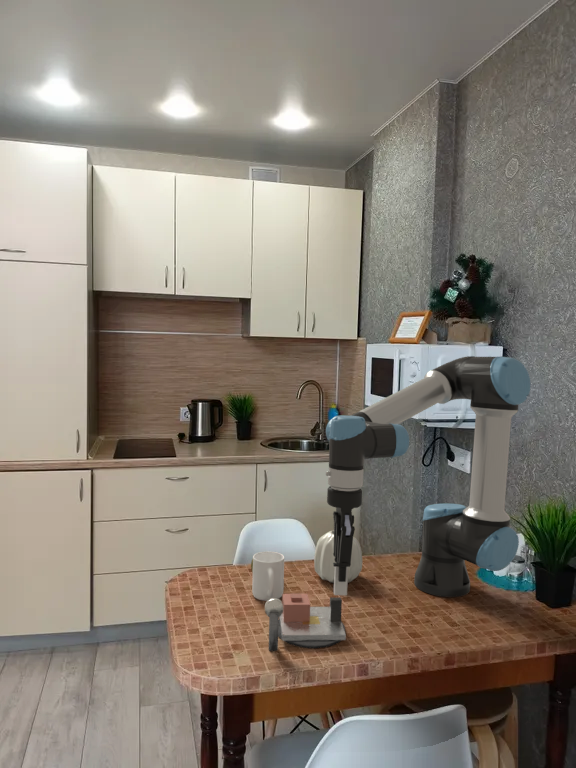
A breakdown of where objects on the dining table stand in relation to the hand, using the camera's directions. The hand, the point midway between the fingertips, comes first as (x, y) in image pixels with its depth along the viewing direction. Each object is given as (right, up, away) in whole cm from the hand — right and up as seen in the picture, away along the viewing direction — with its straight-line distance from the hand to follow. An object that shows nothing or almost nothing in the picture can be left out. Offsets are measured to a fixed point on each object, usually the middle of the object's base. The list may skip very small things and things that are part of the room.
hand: (340, 593), depth 124 cm
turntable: (-6, -10, +7) cm, 14 cm away
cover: (-10, -9, +9) cm, 16 cm away
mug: (-17, -10, +25) cm, 31 cm away
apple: (-18, -10, +36) cm, 42 cm away
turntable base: (-6, -11, +7) cm, 15 cm away
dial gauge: (-15, -11, -1) cm, 19 cm away
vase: (+3, -10, +39) cm, 41 cm away
